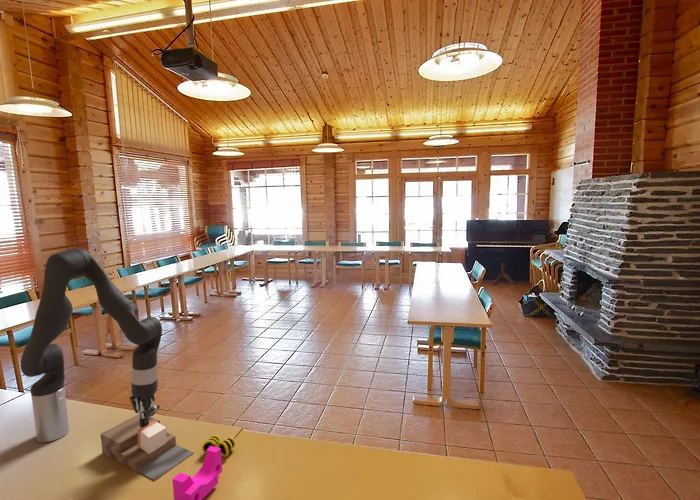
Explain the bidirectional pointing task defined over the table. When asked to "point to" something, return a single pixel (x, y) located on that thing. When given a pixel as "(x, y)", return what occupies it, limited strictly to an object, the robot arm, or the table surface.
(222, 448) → the opera glasses
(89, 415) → the table surface
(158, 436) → the cube
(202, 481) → the magenta clamp bracket
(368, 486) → the table surface
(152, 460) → the stair block
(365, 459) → the table surface
